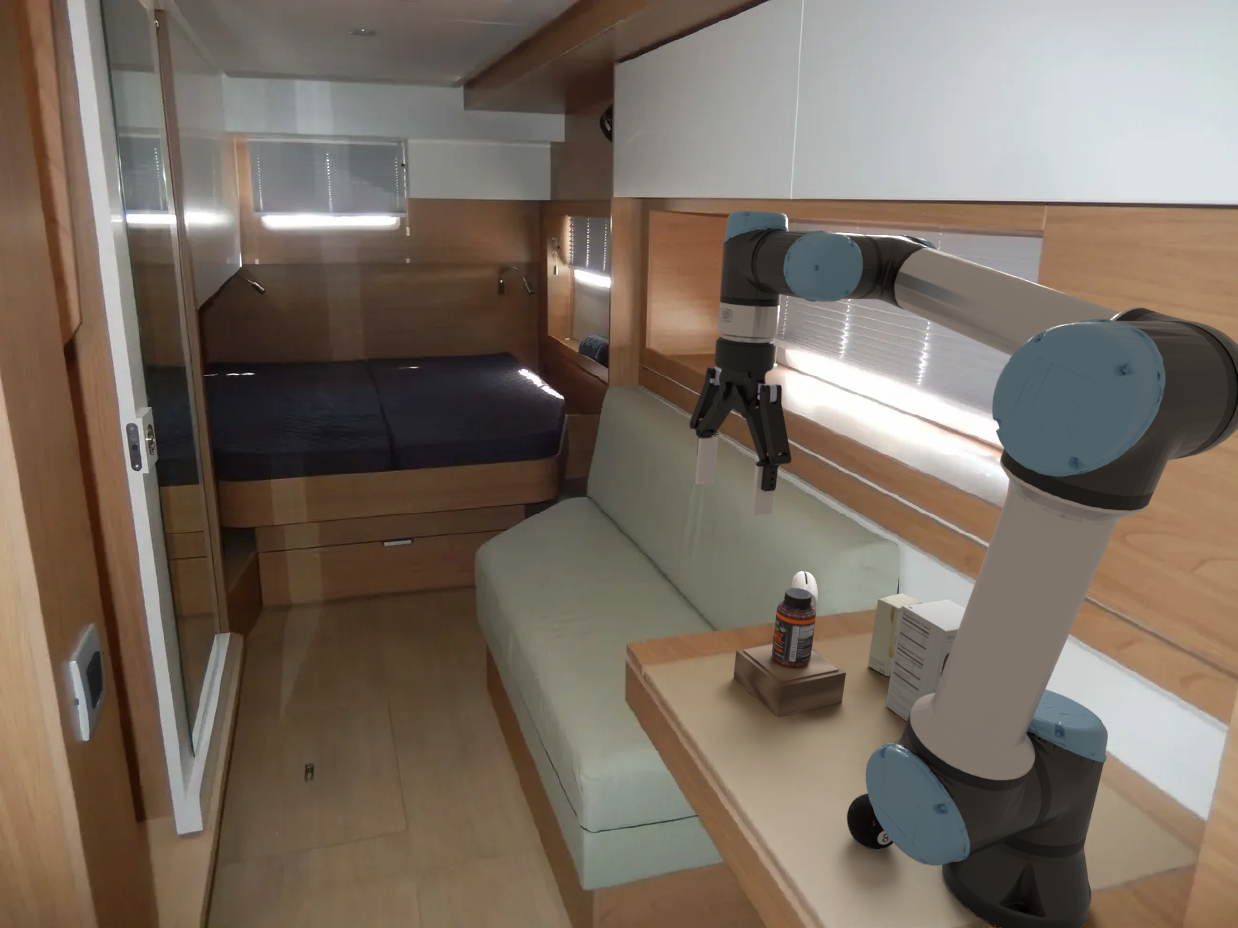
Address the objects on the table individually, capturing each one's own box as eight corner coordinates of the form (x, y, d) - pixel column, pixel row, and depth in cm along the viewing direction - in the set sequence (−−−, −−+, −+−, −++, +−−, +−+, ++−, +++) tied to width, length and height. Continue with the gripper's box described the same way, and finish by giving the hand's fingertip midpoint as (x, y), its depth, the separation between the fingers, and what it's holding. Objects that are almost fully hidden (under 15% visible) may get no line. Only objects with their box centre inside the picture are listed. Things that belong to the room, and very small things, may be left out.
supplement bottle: (764, 652, 139) (771, 586, 136) (798, 649, 141) (805, 583, 138) (782, 671, 134) (790, 601, 131) (817, 667, 136) (826, 598, 133)
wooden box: (842, 701, 137) (846, 670, 135) (777, 716, 131) (781, 684, 130) (794, 665, 147) (798, 636, 146) (733, 678, 142) (736, 648, 140)
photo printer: (812, 657, 150) (821, 589, 147) (786, 654, 151) (794, 586, 148) (809, 630, 160) (817, 566, 157) (785, 627, 161) (792, 564, 157)
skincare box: (886, 677, 145) (897, 608, 142) (866, 666, 148) (876, 598, 145) (912, 668, 148) (923, 601, 145) (892, 657, 152) (902, 591, 148)
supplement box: (926, 738, 128) (944, 631, 124) (883, 706, 136) (898, 604, 132) (976, 726, 132) (995, 622, 127) (931, 695, 140) (948, 596, 136)
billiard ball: (858, 862, 102) (865, 817, 101) (836, 827, 108) (842, 785, 106) (906, 857, 103) (913, 813, 102) (881, 823, 109) (888, 781, 107)
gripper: (672, 325, 122) (661, 474, 127) (780, 353, 100) (762, 531, 106) (718, 325, 125) (706, 470, 131) (833, 352, 103) (812, 524, 109)
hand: (731, 498), depth 118 cm, fingers open, 13 cm apart
